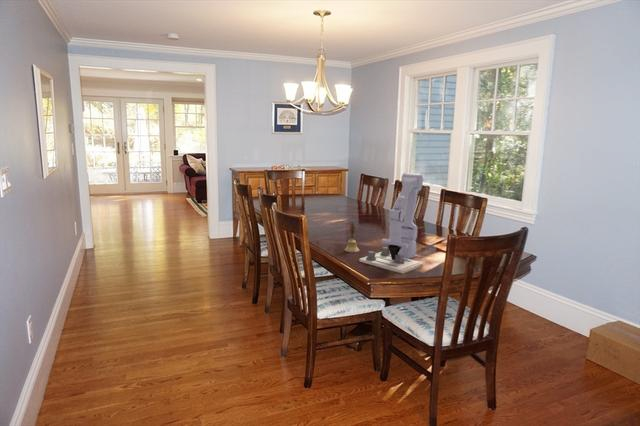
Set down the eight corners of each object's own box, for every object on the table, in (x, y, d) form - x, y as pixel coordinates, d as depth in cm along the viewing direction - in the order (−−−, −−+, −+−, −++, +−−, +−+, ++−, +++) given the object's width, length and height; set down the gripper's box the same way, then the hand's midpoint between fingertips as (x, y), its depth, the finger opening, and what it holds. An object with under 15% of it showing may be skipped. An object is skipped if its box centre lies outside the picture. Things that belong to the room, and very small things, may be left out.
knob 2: (384, 253, 235) (385, 246, 234) (390, 254, 232) (390, 247, 232) (380, 254, 232) (380, 247, 231) (385, 256, 230) (386, 249, 229)
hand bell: (343, 252, 242) (344, 223, 239) (345, 248, 250) (346, 220, 247) (358, 252, 241) (359, 224, 238) (359, 248, 249) (360, 221, 246)
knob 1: (370, 257, 226) (371, 250, 226) (376, 259, 224) (376, 251, 223) (365, 259, 224) (366, 251, 223) (371, 260, 221) (371, 253, 220)
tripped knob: (398, 260, 222) (398, 253, 221) (404, 262, 220) (404, 254, 219) (393, 262, 219) (394, 254, 218) (399, 264, 217) (400, 256, 216)
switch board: (380, 254, 238) (380, 251, 238) (423, 265, 220) (423, 262, 220) (359, 261, 225) (359, 258, 225) (402, 273, 208) (402, 270, 207)
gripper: (378, 231, 221) (377, 258, 223) (403, 237, 211) (401, 264, 214) (387, 229, 226) (385, 255, 228) (411, 234, 216) (409, 261, 219)
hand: (393, 259), depth 221 cm, fingers closed
